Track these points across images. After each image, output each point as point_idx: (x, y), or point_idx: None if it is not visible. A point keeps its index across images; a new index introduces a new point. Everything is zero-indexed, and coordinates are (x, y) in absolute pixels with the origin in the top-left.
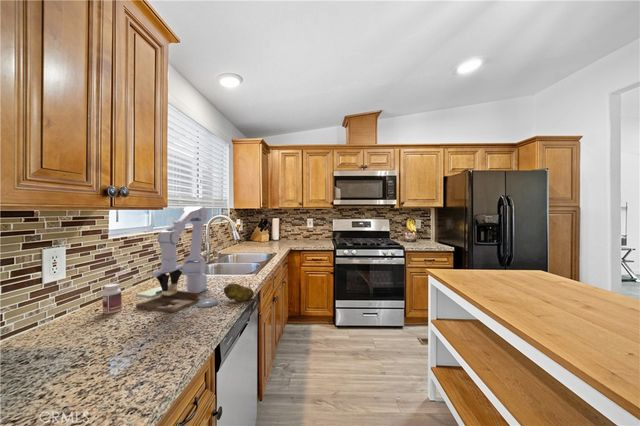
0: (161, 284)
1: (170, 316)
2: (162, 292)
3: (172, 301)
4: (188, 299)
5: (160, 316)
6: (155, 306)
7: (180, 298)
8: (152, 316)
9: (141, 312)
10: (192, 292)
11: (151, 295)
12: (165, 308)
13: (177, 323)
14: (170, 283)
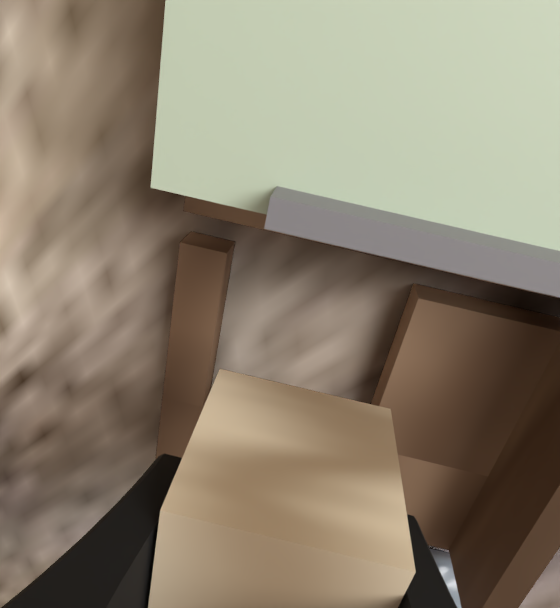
0: (75, 576)
1: (92, 472)
2: (206, 404)
3: (405, 332)
4: (477, 476)
5: (66, 397)
6: (218, 215)
7: (530, 370)
8: (42, 327)
9: (87, 109)
10: (512, 592)
11: (172, 171)
12: (169, 389)
13: (12, 566)
14: (365, 598)
